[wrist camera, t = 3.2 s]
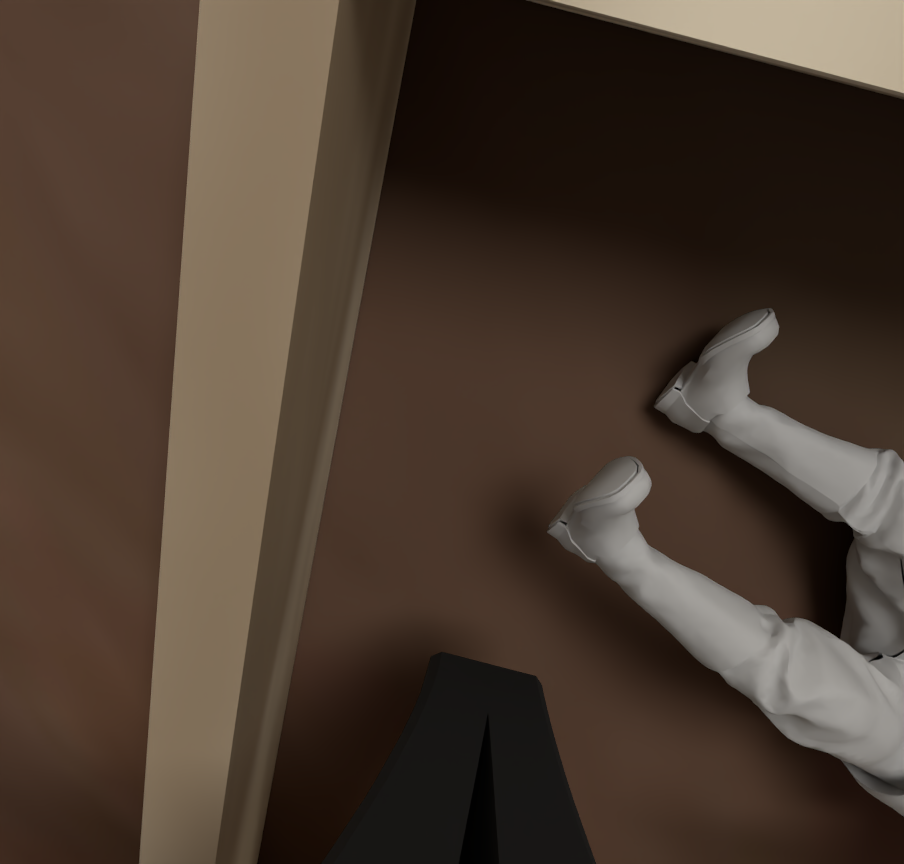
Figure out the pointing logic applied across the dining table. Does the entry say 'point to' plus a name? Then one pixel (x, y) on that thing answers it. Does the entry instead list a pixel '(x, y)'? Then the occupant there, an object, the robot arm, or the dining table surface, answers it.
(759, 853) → the dining table surface
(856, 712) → the soldier figure
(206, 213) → the beech frame
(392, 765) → the robot arm
